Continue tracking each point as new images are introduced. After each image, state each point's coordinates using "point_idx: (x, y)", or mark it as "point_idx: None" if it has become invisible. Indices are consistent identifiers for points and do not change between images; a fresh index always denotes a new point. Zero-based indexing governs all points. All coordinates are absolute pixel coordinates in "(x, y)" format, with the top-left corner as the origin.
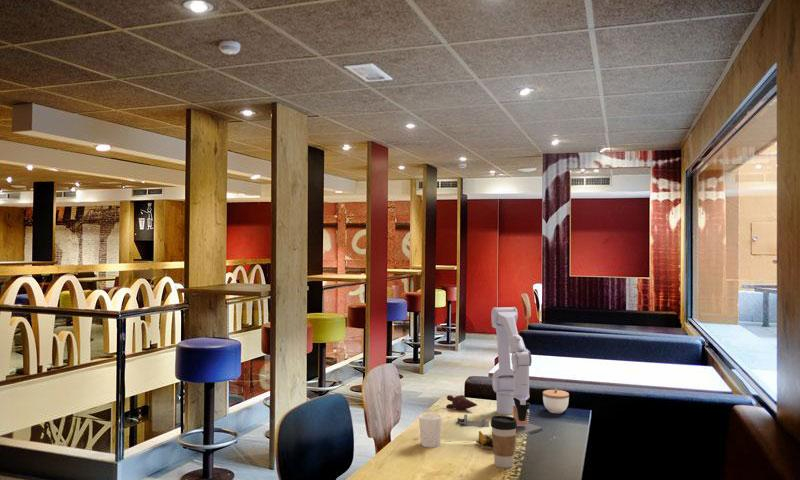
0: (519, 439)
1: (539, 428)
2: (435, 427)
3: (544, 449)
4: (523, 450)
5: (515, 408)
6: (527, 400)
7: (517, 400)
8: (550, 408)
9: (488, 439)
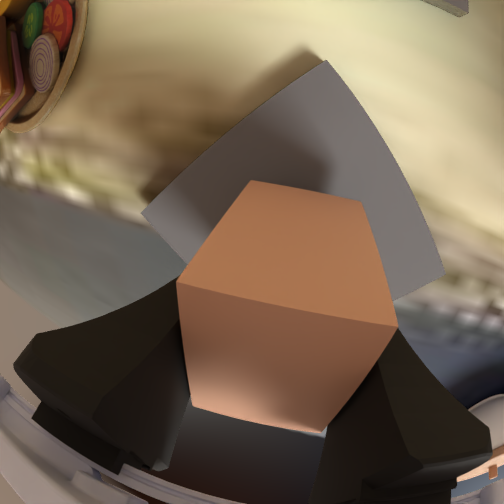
0: (96, 171)
1: None
2: None
3: (38, 250)
4: (9, 173)
5: (188, 313)
6: (313, 493)
7: (368, 464)
8: (482, 414)
9: (29, 15)
